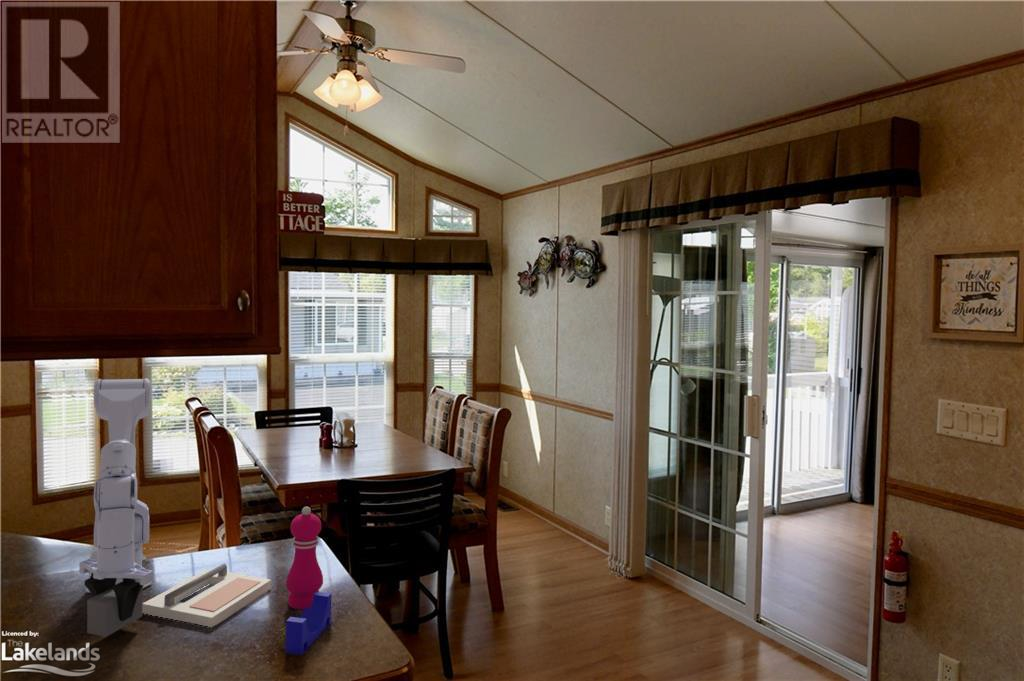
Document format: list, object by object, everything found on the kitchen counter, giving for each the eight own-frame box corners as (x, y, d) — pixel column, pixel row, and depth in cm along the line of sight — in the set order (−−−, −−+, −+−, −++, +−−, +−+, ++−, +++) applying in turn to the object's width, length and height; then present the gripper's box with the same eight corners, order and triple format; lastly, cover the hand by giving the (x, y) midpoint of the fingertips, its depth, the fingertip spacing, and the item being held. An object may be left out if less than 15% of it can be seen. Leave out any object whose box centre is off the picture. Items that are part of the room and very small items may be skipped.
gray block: (87, 633, 118) (87, 599, 117) (124, 612, 126) (125, 581, 125) (105, 637, 117) (105, 603, 116) (142, 616, 124) (142, 585, 124)
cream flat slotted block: (142, 613, 129) (142, 592, 129) (207, 577, 147) (208, 558, 146) (211, 628, 125) (211, 606, 125) (271, 588, 142) (271, 569, 142)
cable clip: (308, 620, 130) (309, 590, 130) (330, 623, 129) (331, 593, 129) (277, 652, 118) (278, 619, 118) (301, 655, 118) (302, 622, 117)
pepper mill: (307, 591, 142) (309, 499, 141) (330, 601, 138) (332, 506, 136) (278, 603, 136) (280, 506, 135) (300, 614, 132) (302, 515, 131)
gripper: (63, 544, 118) (64, 619, 119) (130, 557, 114) (129, 633, 115) (98, 531, 125) (98, 602, 126) (162, 542, 121) (161, 615, 122)
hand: (115, 616), depth 121 cm, fingers closed on gray block, 4 cm apart
